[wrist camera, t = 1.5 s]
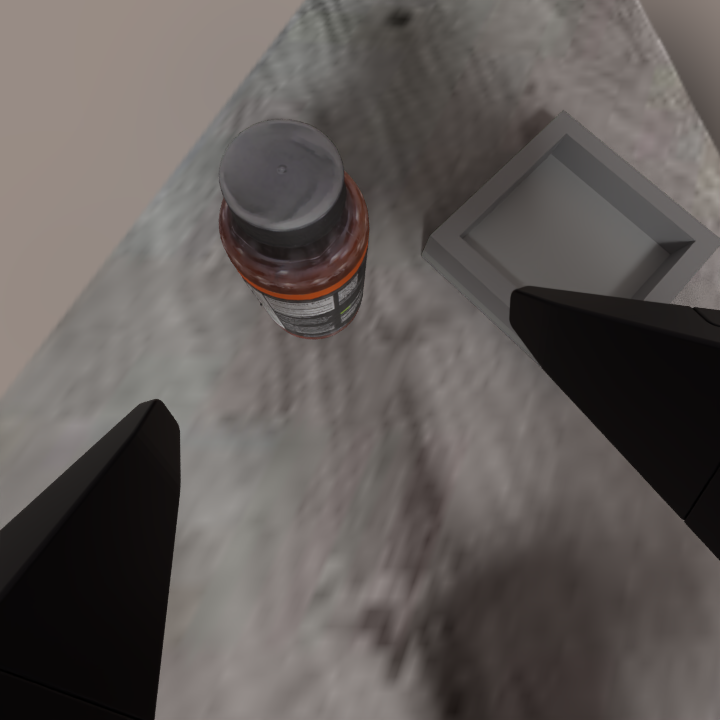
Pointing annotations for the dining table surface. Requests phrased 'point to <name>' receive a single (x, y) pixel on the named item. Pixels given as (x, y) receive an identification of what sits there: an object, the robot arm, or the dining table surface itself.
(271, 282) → the supplement bottle
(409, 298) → the dining table surface
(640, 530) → the dining table surface
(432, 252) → the tray
